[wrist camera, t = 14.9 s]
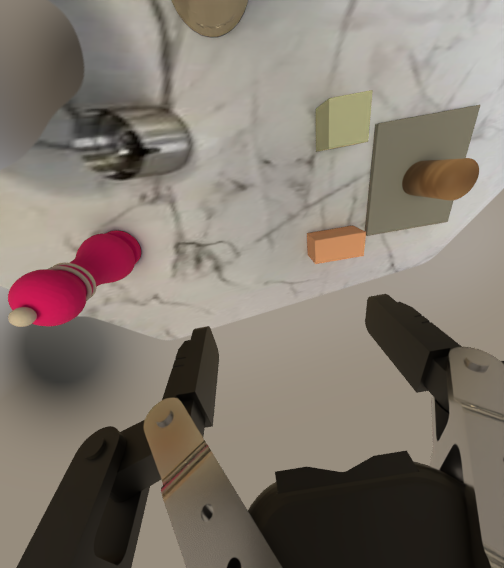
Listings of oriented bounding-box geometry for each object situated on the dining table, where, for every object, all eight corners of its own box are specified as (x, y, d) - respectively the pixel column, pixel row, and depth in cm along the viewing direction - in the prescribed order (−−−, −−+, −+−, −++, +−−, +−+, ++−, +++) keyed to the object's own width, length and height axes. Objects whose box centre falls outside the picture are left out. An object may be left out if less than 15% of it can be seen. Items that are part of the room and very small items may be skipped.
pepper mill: (152, 246, 36) (73, 318, 19) (131, 275, 39) (43, 363, 21) (111, 217, 34) (-25, 269, 16) (91, 250, 36) (-47, 327, 18)
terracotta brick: (307, 254, 39) (315, 264, 35) (306, 233, 37) (315, 240, 33) (350, 247, 39) (363, 255, 35) (352, 225, 37) (365, 231, 33)
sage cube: (315, 109, 29) (329, 98, 25) (351, 102, 29) (372, 90, 24) (315, 151, 31) (328, 148, 27) (349, 145, 31) (368, 141, 27)
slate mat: (375, 124, 30) (378, 123, 29) (474, 106, 30) (480, 104, 29) (364, 234, 38) (366, 235, 37) (443, 220, 37) (447, 221, 37)
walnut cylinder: (405, 164, 32) (444, 162, 26) (437, 157, 32) (484, 154, 26) (399, 197, 34) (435, 203, 28) (429, 192, 34) (471, 196, 28)
